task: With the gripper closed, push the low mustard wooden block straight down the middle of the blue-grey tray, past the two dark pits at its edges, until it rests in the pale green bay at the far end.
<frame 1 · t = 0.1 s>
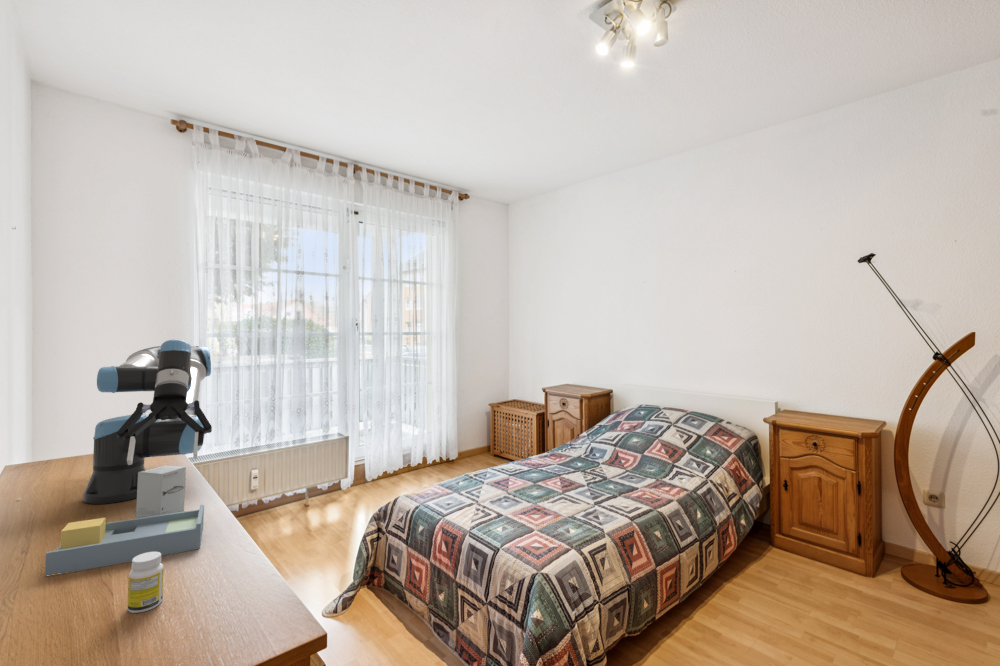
hand: (163, 459, 114), 15 cm above the table, tool tilted 35°, fingers open, 13 cm apart
block: (83, 543, 94), point 3 cm above the table, touching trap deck
supplement bottle: (145, 606, 77), on the table
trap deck: (131, 549, 98), on the table
supplement box: (160, 518, 115), on the table
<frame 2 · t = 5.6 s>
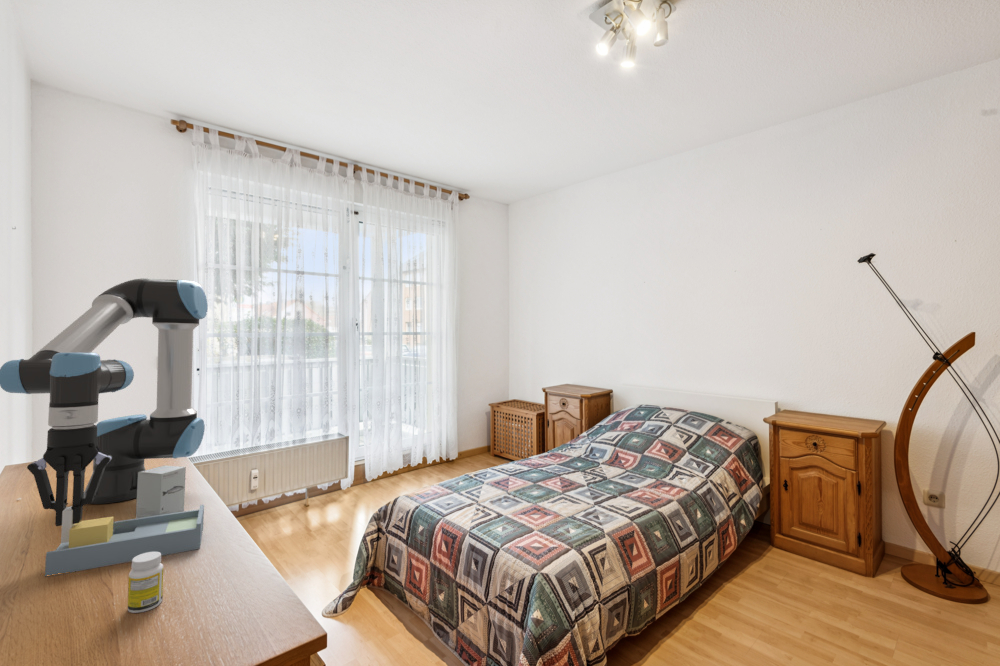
hand: (68, 539, 92), 4 cm above the table, tool pointing down, fingers closed
block: (91, 542, 94), point 3 cm above the table, touching gripper
everything else where it was.
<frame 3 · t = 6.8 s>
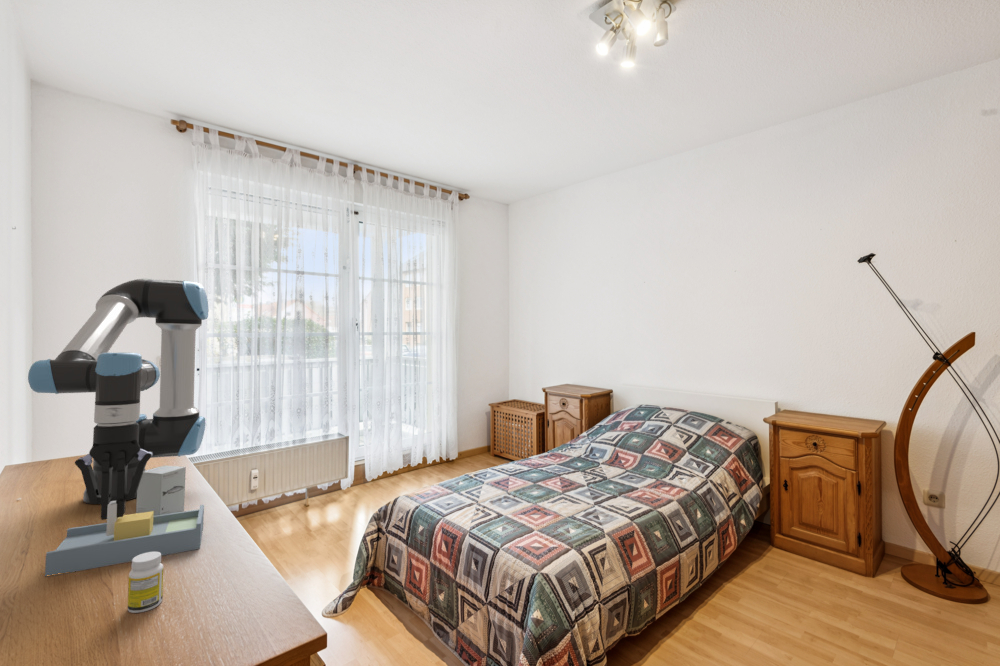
hand: (112, 532, 96), 4 cm above the table, tool pointing down, fingers closed
block: (134, 535, 98), point 3 cm above the table, touching gripper, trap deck
everything else where it was.
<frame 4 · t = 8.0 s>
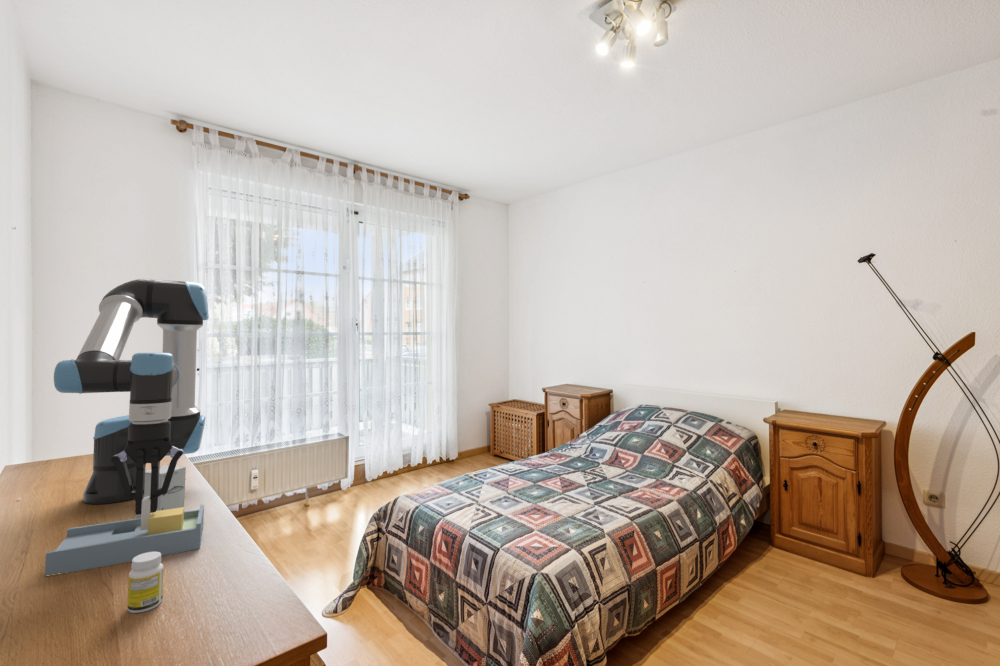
hand: (145, 527, 99), 4 cm above the table, tool pointing down, fingers closed
block: (166, 530, 101), point 3 cm above the table, touching gripper
everything else where it was.
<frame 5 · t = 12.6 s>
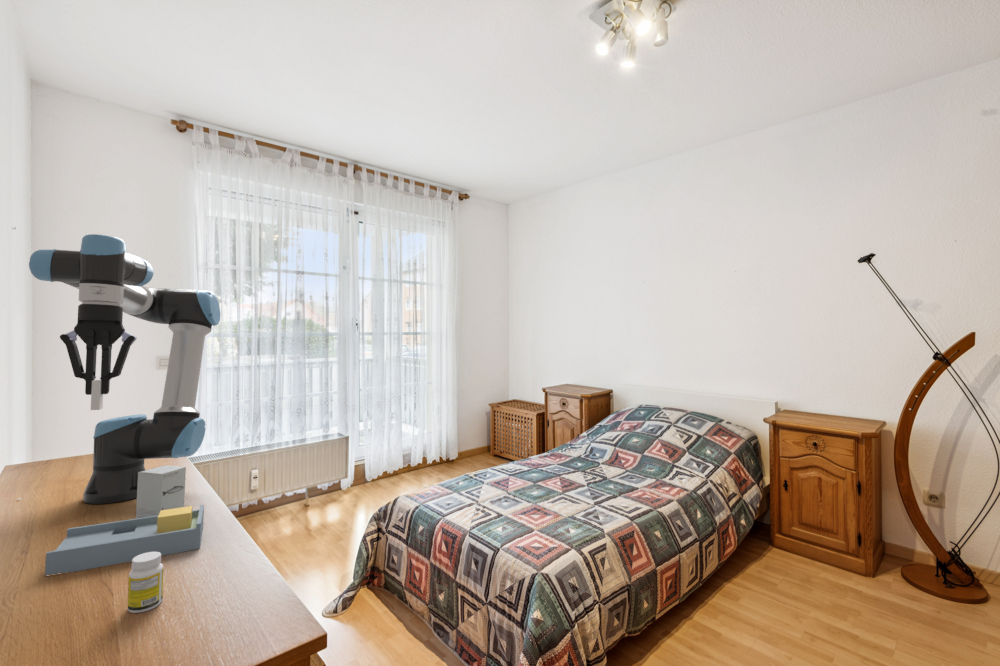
hand: (96, 409, 100), 30 cm above the table, tool pointing down, fingers closed
block: (174, 529, 101), point 3 cm above the table, touching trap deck
everything else where it was.
at the end: block 0.7 cm from the target spot on the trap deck, point 3.0 cm above the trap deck's base; block tilted 0° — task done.
